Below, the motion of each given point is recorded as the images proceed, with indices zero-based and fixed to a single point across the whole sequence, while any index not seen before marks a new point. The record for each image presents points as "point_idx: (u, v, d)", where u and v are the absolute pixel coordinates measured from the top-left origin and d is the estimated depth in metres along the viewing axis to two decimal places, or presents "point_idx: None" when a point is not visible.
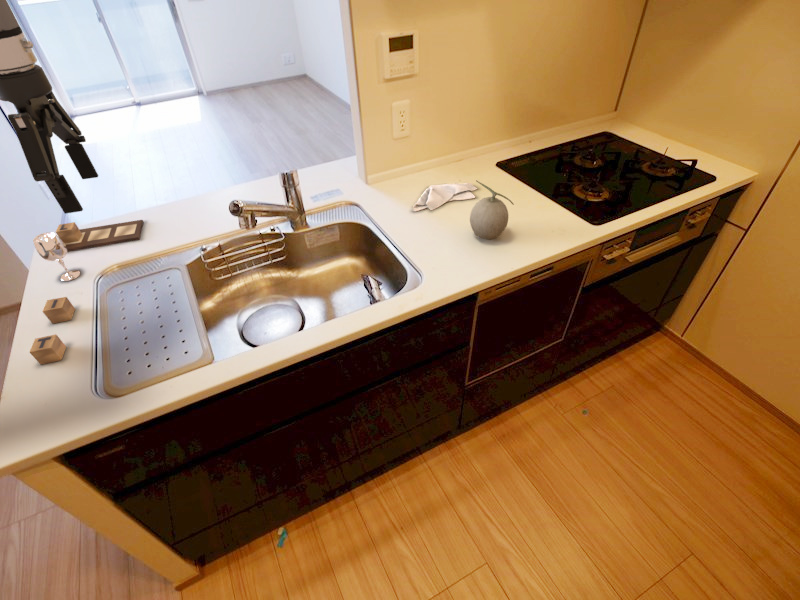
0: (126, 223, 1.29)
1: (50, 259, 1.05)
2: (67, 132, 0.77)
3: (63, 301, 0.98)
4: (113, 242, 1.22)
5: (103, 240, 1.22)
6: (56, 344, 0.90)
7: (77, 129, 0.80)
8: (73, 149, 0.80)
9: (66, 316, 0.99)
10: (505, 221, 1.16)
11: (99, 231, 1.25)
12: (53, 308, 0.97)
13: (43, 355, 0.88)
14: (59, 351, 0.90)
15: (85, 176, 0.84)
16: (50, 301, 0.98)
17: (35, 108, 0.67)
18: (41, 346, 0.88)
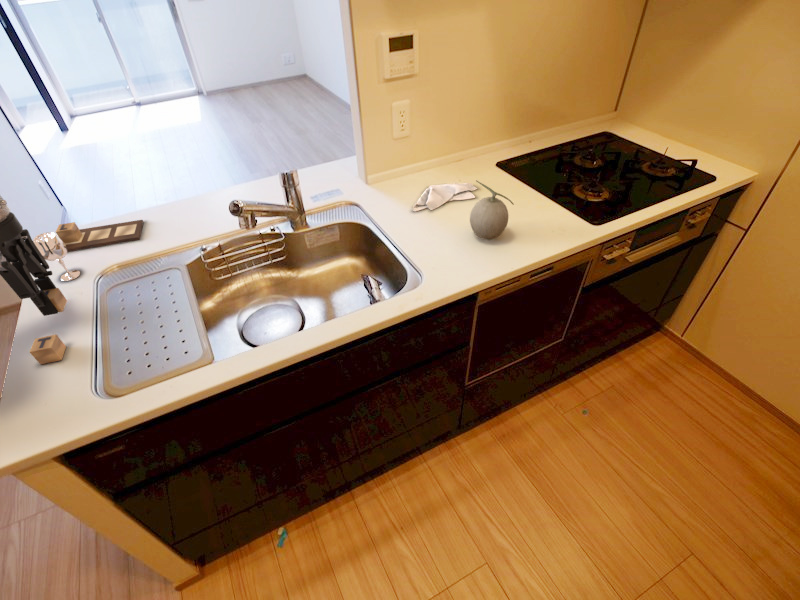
0: (126, 223, 1.29)
1: (50, 259, 1.05)
2: (35, 264, 0.93)
3: (55, 292, 0.96)
4: (113, 242, 1.22)
5: (103, 240, 1.22)
6: (56, 344, 0.90)
7: (45, 263, 0.96)
8: (41, 282, 0.96)
9: (57, 308, 0.96)
10: (505, 221, 1.16)
11: (99, 231, 1.25)
12: None
13: (43, 355, 0.88)
14: (59, 351, 0.90)
15: None
16: None
17: (6, 246, 0.84)
18: (41, 346, 0.88)
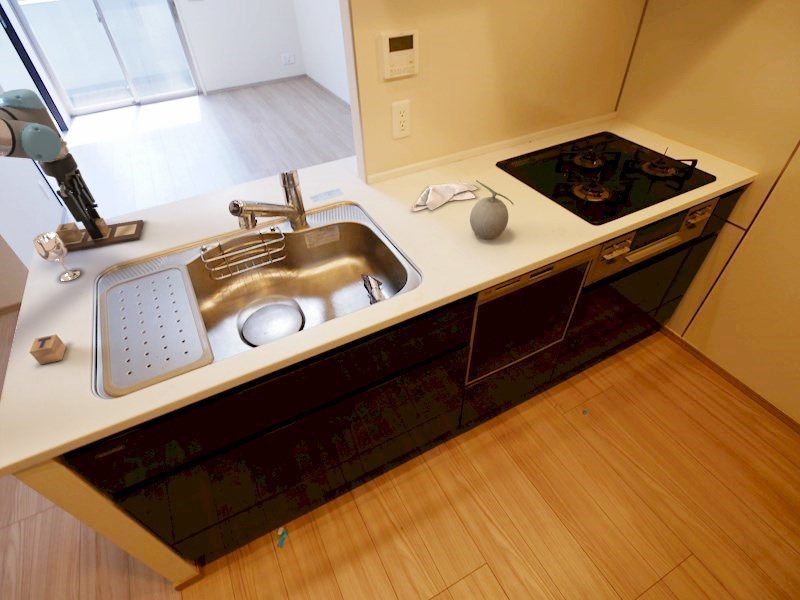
0: (126, 223, 1.29)
1: (50, 259, 1.05)
2: (86, 197, 1.19)
3: (100, 220, 1.22)
4: (113, 242, 1.22)
5: (103, 240, 1.22)
6: (56, 344, 0.90)
7: (92, 198, 1.22)
8: (90, 212, 1.21)
9: (103, 233, 1.22)
10: (505, 221, 1.16)
11: None
12: None
13: (43, 355, 0.88)
14: (59, 351, 0.90)
15: None
16: None
17: (66, 178, 1.10)
18: (41, 346, 0.88)
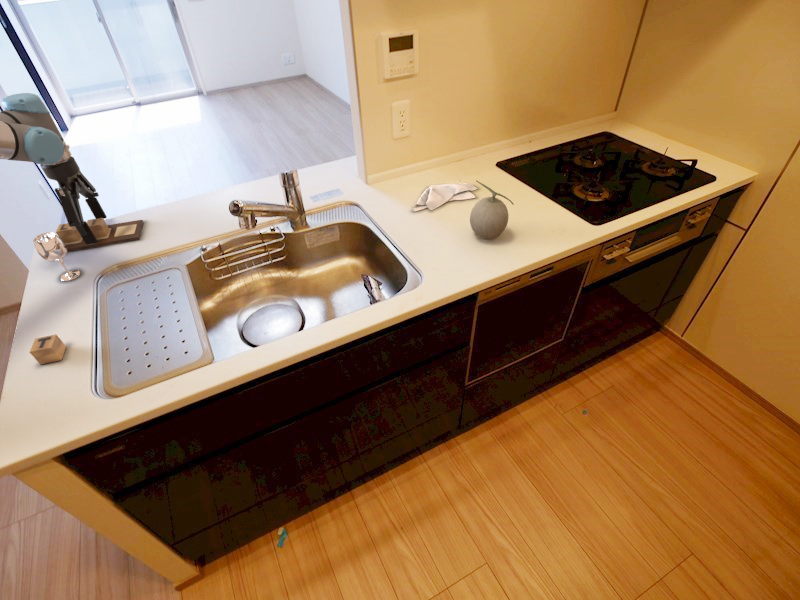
0: (126, 223, 1.29)
1: (50, 259, 1.05)
2: (87, 191, 1.20)
3: (100, 220, 1.22)
4: (113, 242, 1.22)
5: (103, 240, 1.22)
6: (56, 344, 0.90)
7: (93, 188, 1.24)
8: (90, 201, 1.24)
9: (103, 233, 1.22)
10: (505, 221, 1.16)
11: None
12: (93, 224, 1.21)
13: (43, 355, 0.88)
14: (59, 351, 0.90)
15: (98, 217, 1.27)
16: (90, 220, 1.22)
17: (69, 182, 1.11)
18: (41, 346, 0.88)
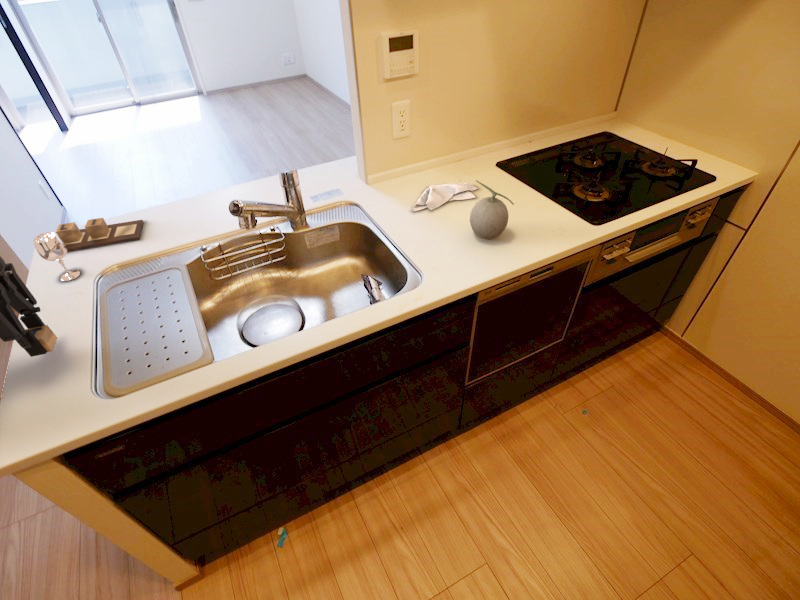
0: (126, 223, 1.29)
1: (50, 259, 1.05)
2: (21, 301, 0.84)
3: (100, 220, 1.22)
4: (113, 242, 1.22)
5: (103, 240, 1.22)
6: (47, 334, 0.88)
7: (32, 299, 0.87)
8: (28, 319, 0.87)
9: (103, 233, 1.22)
10: (505, 221, 1.16)
11: None
12: (93, 224, 1.21)
13: None
14: (50, 342, 0.88)
15: None
16: (90, 220, 1.22)
17: None
18: None
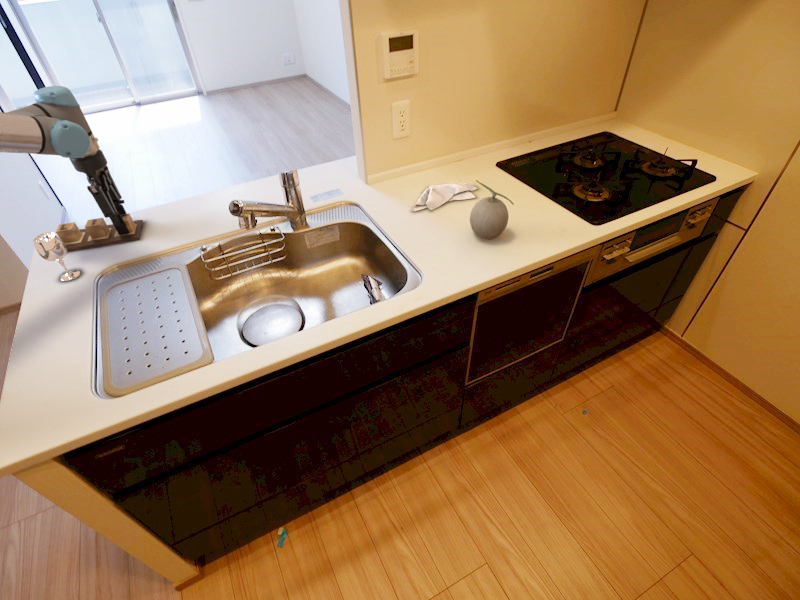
0: None
1: (50, 259, 1.05)
2: (113, 193, 1.20)
3: (100, 220, 1.22)
4: (113, 242, 1.22)
5: (103, 240, 1.22)
6: (130, 219, 1.24)
7: (119, 194, 1.24)
8: (116, 208, 1.23)
9: (103, 233, 1.22)
10: (505, 221, 1.16)
11: None
12: (93, 224, 1.21)
13: None
14: (131, 225, 1.25)
15: None
16: (90, 220, 1.22)
17: (97, 174, 1.12)
18: None
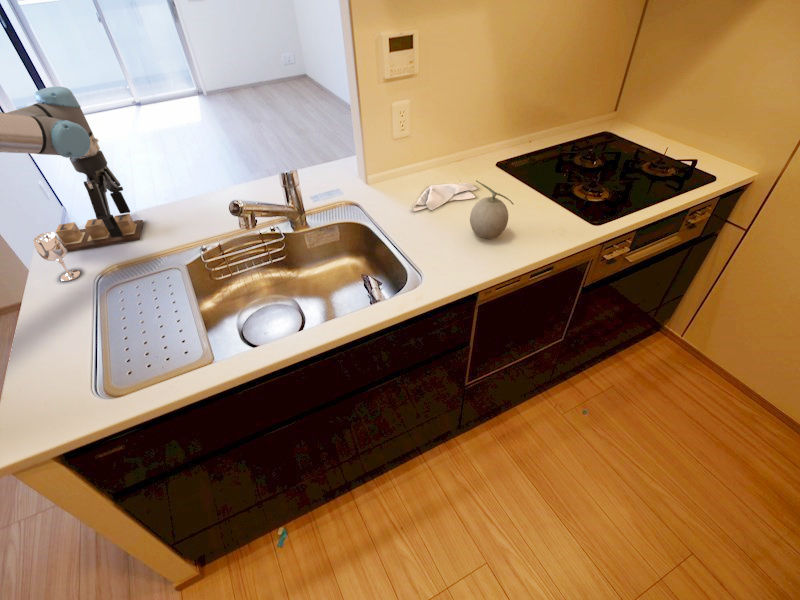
0: None
1: (50, 259, 1.05)
2: (113, 185, 1.22)
3: (100, 220, 1.22)
4: (113, 242, 1.22)
5: (103, 240, 1.22)
6: (130, 220, 1.24)
7: (118, 182, 1.25)
8: (115, 195, 1.25)
9: (103, 233, 1.22)
10: (505, 221, 1.16)
11: None
12: (93, 224, 1.21)
13: (121, 226, 1.23)
14: (132, 225, 1.25)
15: (122, 212, 1.28)
16: (90, 220, 1.22)
17: (97, 176, 1.12)
18: (120, 219, 1.22)
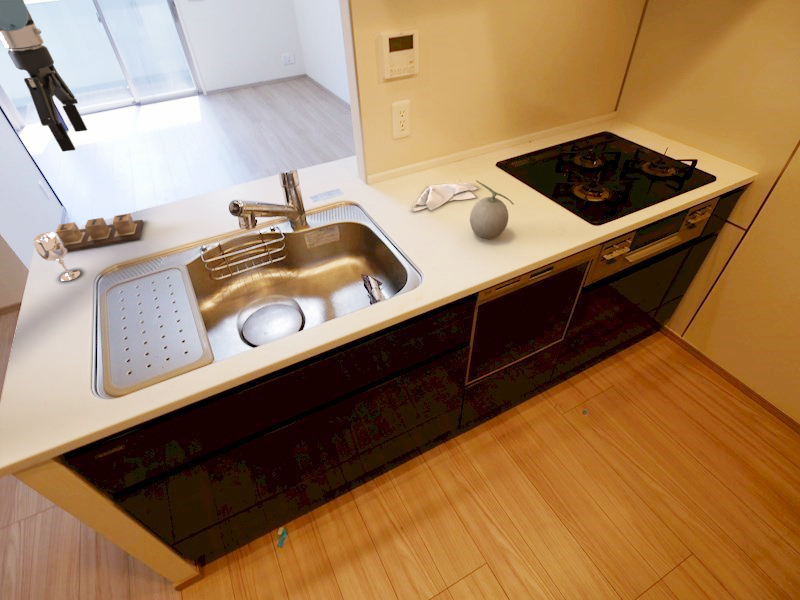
0: None
1: (50, 259, 1.05)
2: (64, 95, 1.08)
3: (100, 220, 1.22)
4: (113, 242, 1.22)
5: (103, 240, 1.22)
6: (130, 220, 1.24)
7: (71, 94, 1.12)
8: (68, 108, 1.11)
9: (103, 233, 1.22)
10: (505, 221, 1.16)
11: None
12: (93, 224, 1.21)
13: (121, 226, 1.23)
14: (132, 225, 1.25)
15: (78, 129, 1.15)
16: (90, 220, 1.22)
17: (42, 75, 0.99)
18: (120, 219, 1.22)
